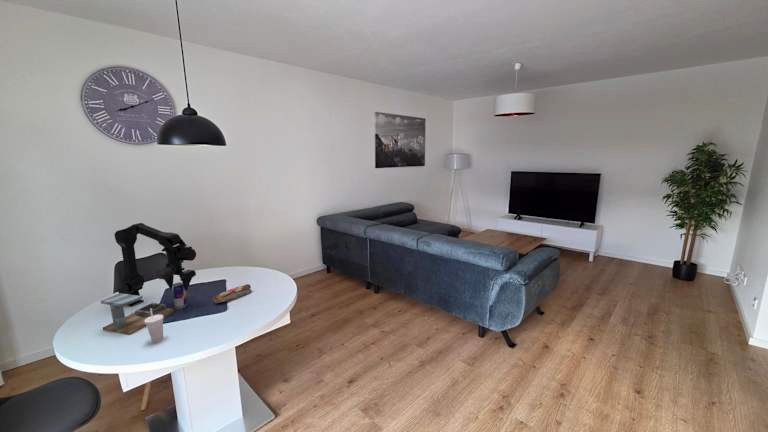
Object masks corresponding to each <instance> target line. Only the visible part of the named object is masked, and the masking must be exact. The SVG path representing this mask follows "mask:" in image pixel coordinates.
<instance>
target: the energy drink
mask: <svg viewBox="0 0 768 432" xmlns="http://www.w3.org/2000/svg"><path fill="white" fill-rule="evenodd" d="M171 290H172V296H173V303H174V308H175V309H177V310H181V309H184V308H186V307H187V306H188V298H187V290H186V291H185V290H184V286H183V282H182V281H181V282H179V281H178V282H175V283H173V285H172V289H171Z"/></svg>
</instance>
